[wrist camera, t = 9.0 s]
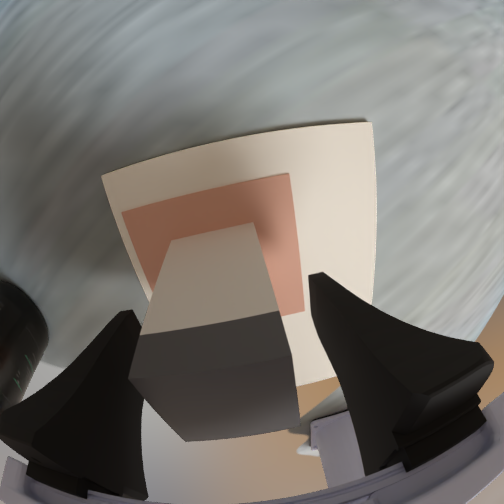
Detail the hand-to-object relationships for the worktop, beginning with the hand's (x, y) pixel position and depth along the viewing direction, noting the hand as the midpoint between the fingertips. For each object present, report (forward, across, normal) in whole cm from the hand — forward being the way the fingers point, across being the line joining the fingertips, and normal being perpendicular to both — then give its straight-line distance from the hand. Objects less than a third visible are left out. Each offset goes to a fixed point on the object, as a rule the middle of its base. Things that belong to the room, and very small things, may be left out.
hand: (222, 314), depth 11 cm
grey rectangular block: (+4, 0, 0) cm, 4 cm away
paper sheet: (+4, -2, +3) cm, 5 cm away
